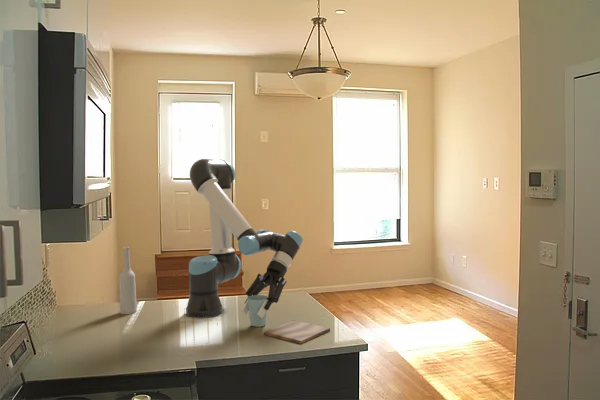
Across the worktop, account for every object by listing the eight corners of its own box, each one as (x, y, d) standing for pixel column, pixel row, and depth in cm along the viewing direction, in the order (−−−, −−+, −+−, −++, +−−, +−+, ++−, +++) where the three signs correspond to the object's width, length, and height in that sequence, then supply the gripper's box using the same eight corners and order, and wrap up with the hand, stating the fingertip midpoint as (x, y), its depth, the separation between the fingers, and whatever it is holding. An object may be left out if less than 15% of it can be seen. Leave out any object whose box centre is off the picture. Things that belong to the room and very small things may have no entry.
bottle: (137, 313, 209) (134, 247, 207) (120, 315, 206) (118, 248, 205) (136, 309, 215) (133, 245, 214) (119, 311, 212) (117, 246, 211)
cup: (262, 320, 193) (262, 293, 193) (271, 325, 187) (271, 298, 186) (245, 323, 189) (244, 296, 189) (253, 328, 183) (252, 301, 182)
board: (264, 334, 177) (264, 331, 177) (293, 322, 191) (293, 320, 190) (301, 343, 167) (301, 340, 167) (330, 330, 180) (329, 328, 180)
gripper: (303, 273, 193) (276, 324, 181) (264, 268, 205) (237, 315, 194) (294, 262, 188) (266, 313, 176) (255, 257, 201) (227, 304, 189)
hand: (251, 314), depth 185 cm, fingers closed on cup, 8 cm apart
